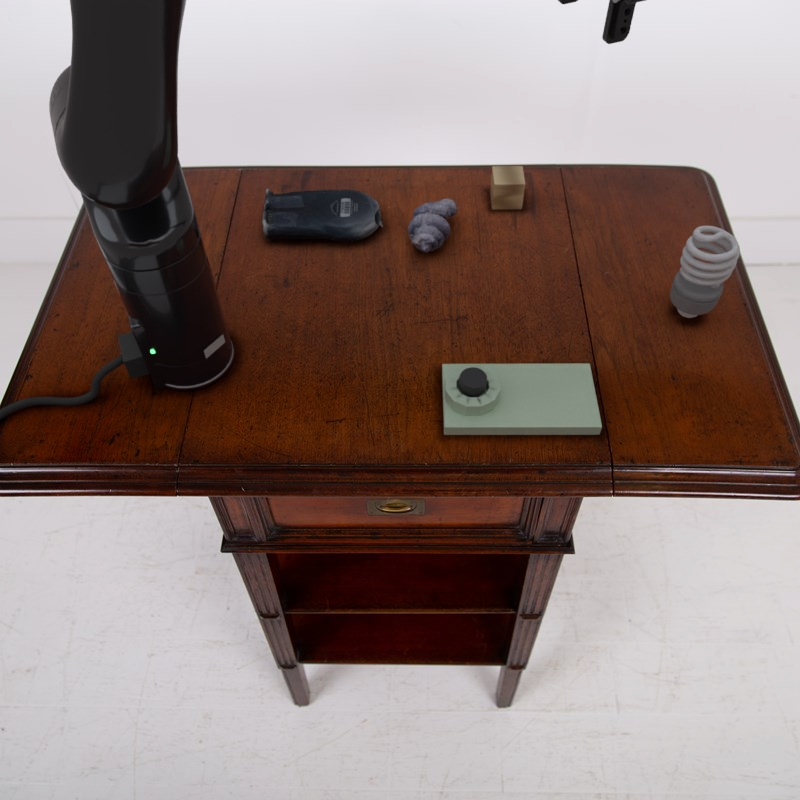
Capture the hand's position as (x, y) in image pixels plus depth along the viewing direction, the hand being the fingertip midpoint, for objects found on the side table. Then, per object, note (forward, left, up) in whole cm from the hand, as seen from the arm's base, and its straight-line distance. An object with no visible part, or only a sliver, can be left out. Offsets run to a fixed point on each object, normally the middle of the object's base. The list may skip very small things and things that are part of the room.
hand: (590, 20), depth 72 cm
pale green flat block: (-14, -19, -29) cm, 38 cm away
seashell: (-12, +9, -30) cm, 33 cm away
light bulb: (+10, -15, -30) cm, 35 cm away
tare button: (-19, -17, -27) cm, 37 cm away
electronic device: (-24, +17, -29) cm, 42 cm away
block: (0, +12, -29) cm, 32 cm away
